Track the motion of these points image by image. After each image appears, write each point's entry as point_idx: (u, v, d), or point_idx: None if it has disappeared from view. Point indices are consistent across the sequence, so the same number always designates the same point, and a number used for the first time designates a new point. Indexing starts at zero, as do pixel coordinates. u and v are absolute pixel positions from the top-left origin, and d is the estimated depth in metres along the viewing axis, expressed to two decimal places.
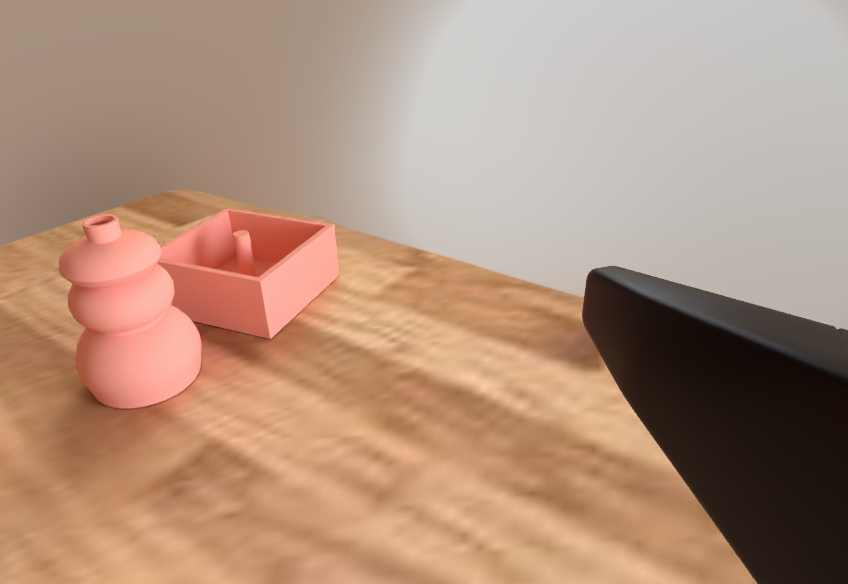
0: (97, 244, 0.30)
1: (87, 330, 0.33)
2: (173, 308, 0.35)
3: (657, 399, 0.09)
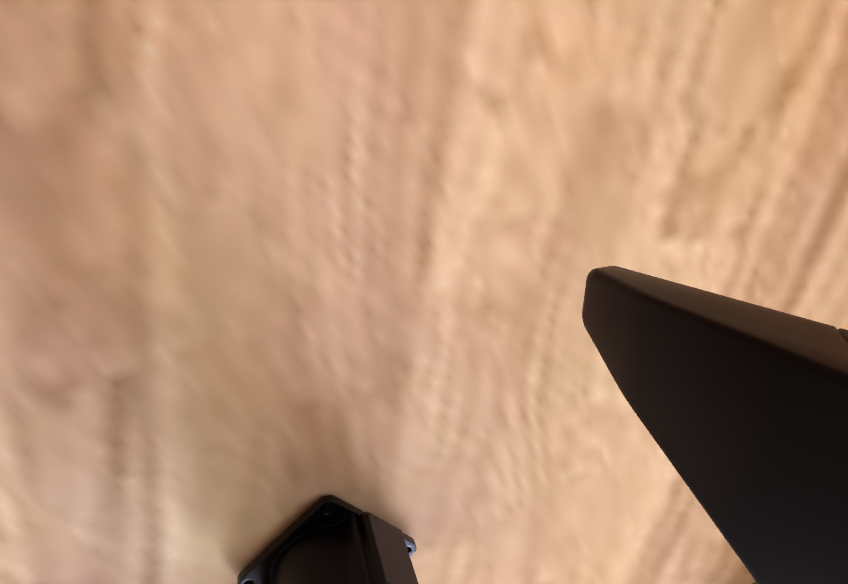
0: None
1: None
2: None
3: (657, 399, 0.09)
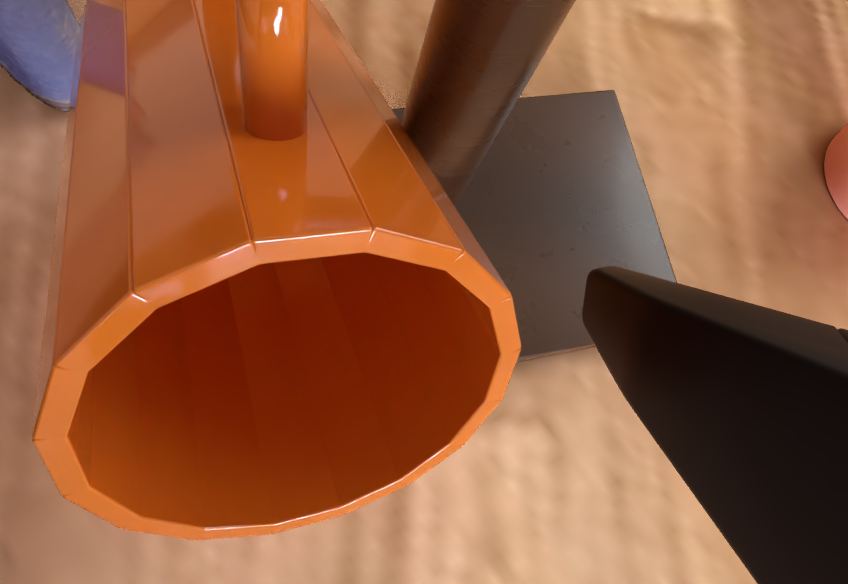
0: None
1: None
2: None
3: (657, 399, 0.09)
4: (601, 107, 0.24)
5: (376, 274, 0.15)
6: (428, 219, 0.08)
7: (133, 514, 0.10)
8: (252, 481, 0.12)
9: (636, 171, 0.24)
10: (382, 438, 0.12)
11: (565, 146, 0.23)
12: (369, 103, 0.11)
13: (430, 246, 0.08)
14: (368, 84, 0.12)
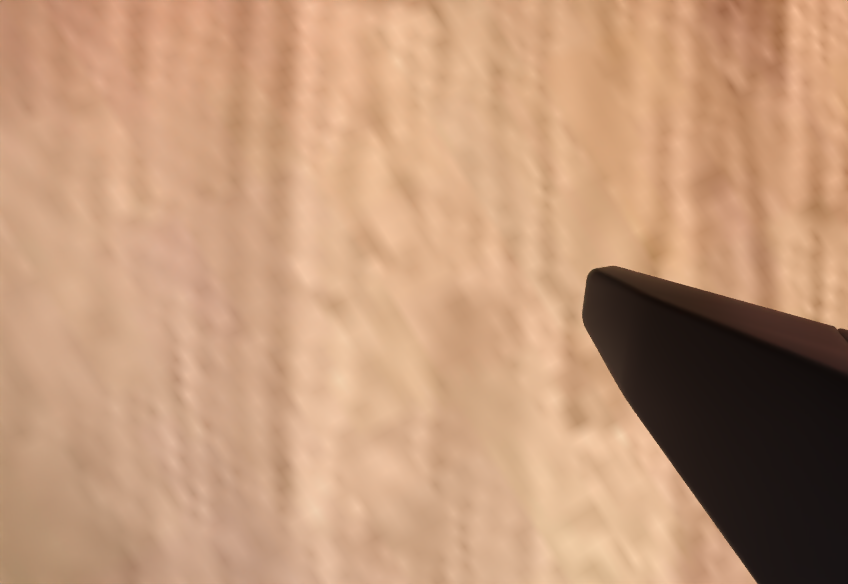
0: None
1: None
2: None
3: (657, 399, 0.09)
4: None
5: None
6: None
7: None
8: None
9: None
10: None
11: None
12: None
13: None
14: None
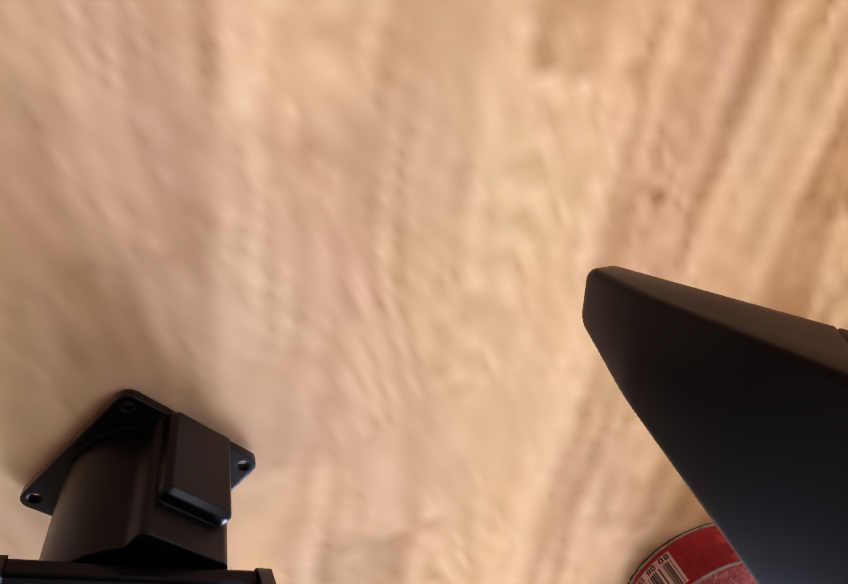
0: None
1: None
2: None
3: (657, 399, 0.09)
4: None
5: None
6: None
7: None
8: None
9: None
10: None
11: None
12: None
13: None
14: None
